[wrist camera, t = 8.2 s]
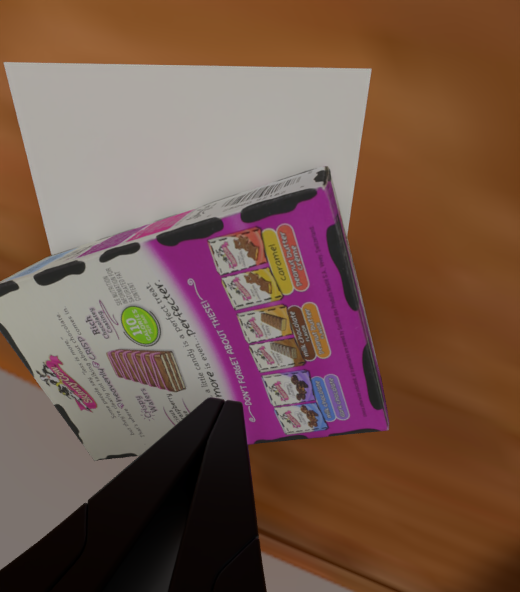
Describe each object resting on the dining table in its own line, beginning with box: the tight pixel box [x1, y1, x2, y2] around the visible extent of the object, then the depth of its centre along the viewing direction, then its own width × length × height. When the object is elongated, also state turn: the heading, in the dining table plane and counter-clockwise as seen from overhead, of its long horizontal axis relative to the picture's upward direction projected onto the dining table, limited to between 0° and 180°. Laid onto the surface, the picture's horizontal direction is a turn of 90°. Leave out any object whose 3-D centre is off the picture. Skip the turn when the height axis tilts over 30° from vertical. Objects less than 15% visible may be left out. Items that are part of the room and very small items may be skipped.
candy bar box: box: [0, 166, 389, 461], centre depth 18 cm, size 11×5×16 cm
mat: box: [4, 62, 371, 255], centre depth 19 cm, size 16×16×1 cm
